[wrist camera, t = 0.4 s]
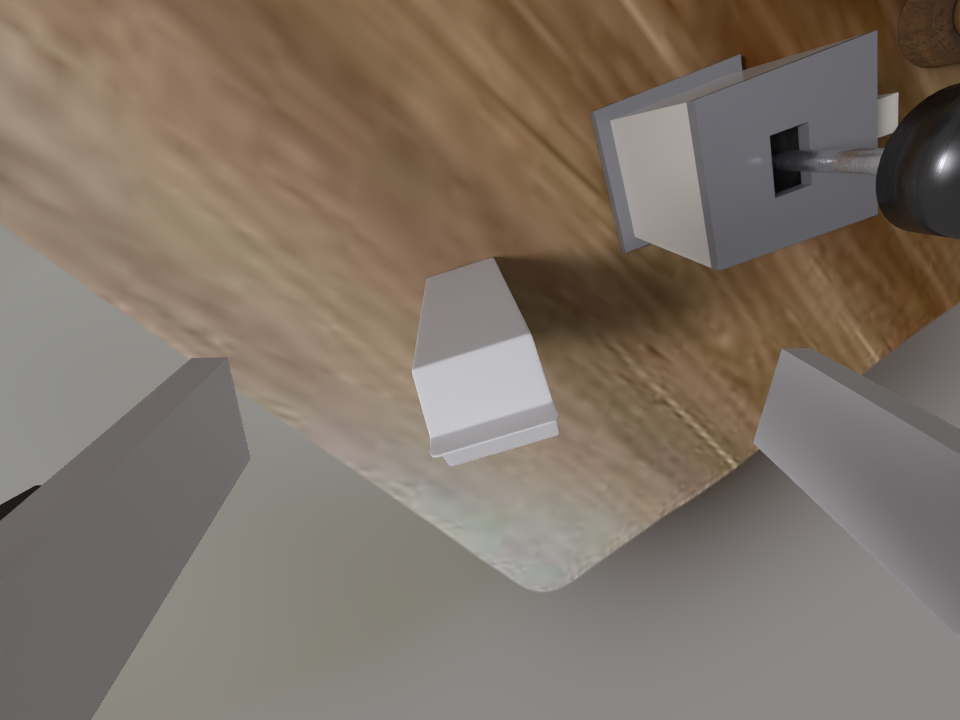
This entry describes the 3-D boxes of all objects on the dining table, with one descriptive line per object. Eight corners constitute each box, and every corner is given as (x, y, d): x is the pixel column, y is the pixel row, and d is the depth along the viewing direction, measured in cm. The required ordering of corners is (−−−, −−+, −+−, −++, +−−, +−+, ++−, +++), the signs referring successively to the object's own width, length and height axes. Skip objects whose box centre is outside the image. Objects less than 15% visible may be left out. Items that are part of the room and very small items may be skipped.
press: (590, 112, 35) (670, 86, 23) (758, 47, 34) (939, -19, 22) (621, 250, 40) (704, 293, 27) (771, 195, 39) (930, 213, 26)
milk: (512, 320, 42) (578, 475, 21) (447, 340, 42) (452, 512, 22) (492, 254, 39) (546, 359, 19) (424, 276, 39) (405, 403, 19)
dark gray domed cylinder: (698, 127, 26) (929, 96, 14) (799, 88, 26) (1134, 21, 13) (712, 226, 29) (923, 278, 16) (806, 192, 28) (1097, 218, 16)
